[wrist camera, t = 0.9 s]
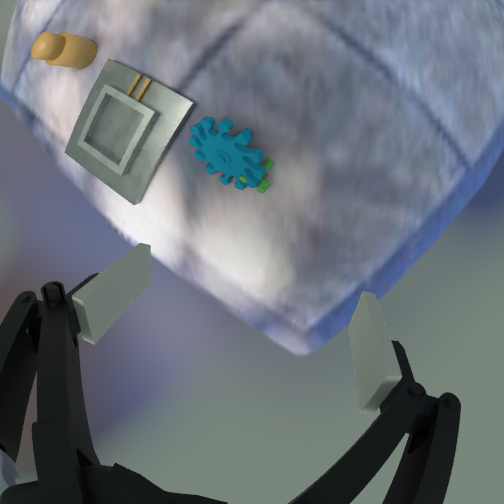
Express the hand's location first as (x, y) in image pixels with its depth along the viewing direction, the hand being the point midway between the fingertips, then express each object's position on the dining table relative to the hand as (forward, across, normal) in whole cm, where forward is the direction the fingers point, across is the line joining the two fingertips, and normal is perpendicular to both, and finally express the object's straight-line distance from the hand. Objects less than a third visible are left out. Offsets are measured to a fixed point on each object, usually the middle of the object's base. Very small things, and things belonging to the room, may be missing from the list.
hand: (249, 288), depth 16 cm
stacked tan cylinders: (+18, -33, +21) cm, 44 cm away
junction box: (+19, -23, +8) cm, 31 cm away
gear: (+20, -6, +6) cm, 22 cm away
